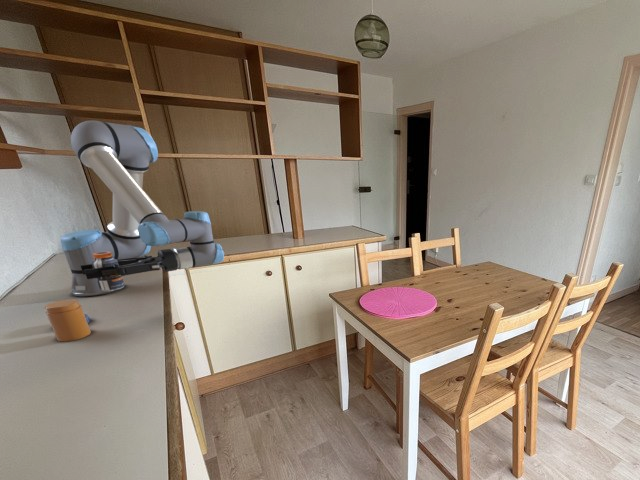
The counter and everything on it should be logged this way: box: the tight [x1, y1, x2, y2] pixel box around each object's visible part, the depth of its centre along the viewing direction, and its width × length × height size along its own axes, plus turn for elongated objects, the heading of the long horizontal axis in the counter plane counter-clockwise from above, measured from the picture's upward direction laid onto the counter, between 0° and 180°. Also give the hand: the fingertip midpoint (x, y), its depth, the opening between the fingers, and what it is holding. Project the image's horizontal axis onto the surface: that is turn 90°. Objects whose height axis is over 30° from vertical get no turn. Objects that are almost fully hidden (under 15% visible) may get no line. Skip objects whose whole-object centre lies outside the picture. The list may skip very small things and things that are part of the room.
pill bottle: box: [92, 252, 125, 291], centre depth 96 cm, size 6×6×11 cm
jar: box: [44, 298, 92, 342], centre depth 89 cm, size 7×7×10 cm
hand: (83, 272), depth 92 cm, fingers closed on pill bottle, 6 cm apart
